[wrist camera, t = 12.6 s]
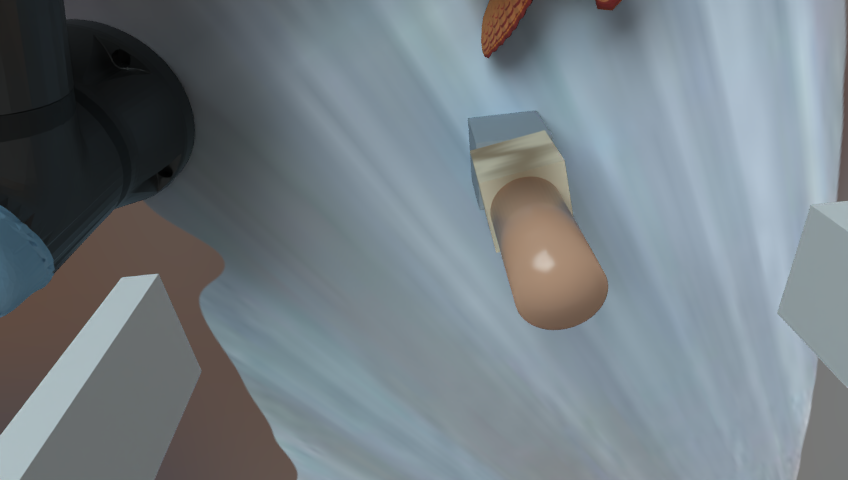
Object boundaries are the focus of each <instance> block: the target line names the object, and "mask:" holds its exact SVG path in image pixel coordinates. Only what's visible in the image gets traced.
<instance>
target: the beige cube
mask: <svg viewBox="0 0 848 480" xmlns="http://www.w3.org/2000/svg"><path fill="white" fill-rule="evenodd" d="M470 153H471V157H472V161H473V165H474V169H475V173H476V177H477V181H478V185H479V189H480V193H481V197H482V201H483V205H484V209H485V213H486V217H487V220H488V224H489V228H490V231H491V235H492V238H493V242H494V246H495V249H496V253H498V252H500V248H499V245H498V241H497V238H496V234H495V231H494V228H493V224H492V221H491V216H490V208H491V204H492V201H493V199H494V197H495V195H496V194H497V192H498V191H499V190H500V189H501V188H502V187H503V186H504V185H506V184H507V183H509V182H511V181H513V180H515V179H518V178H522V177H539V178H543V179H545V180H547V181H549V182H551V183H552V184H553V185H554V186H555V187H556V188H557V189H558V190H559V192H560V194H561V196H562V198H563V199H564V201H565V203H566V205H567V207H568V208H569V210H570V212H571V214H572V216H573V212H572V205H571V199H570V192H569V186H568V179H567V173H566V166H565V160H564V159H563V157H562V156H561V154H560V153H559V151H558V150H557V148H556V147H555V145H554V144H553V142H552V140H551V139H550V137H549V136H548V134H547V133H546V131H545V130H543V131H540V132H536V133H533V134H529V135H525V136H522V137H518V138H514V139H511V140H507V141H503V142H500V143H496V144H492V145H489V146H485V147H482V148H478V149H474V150H471V151H470Z"/></svg>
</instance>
